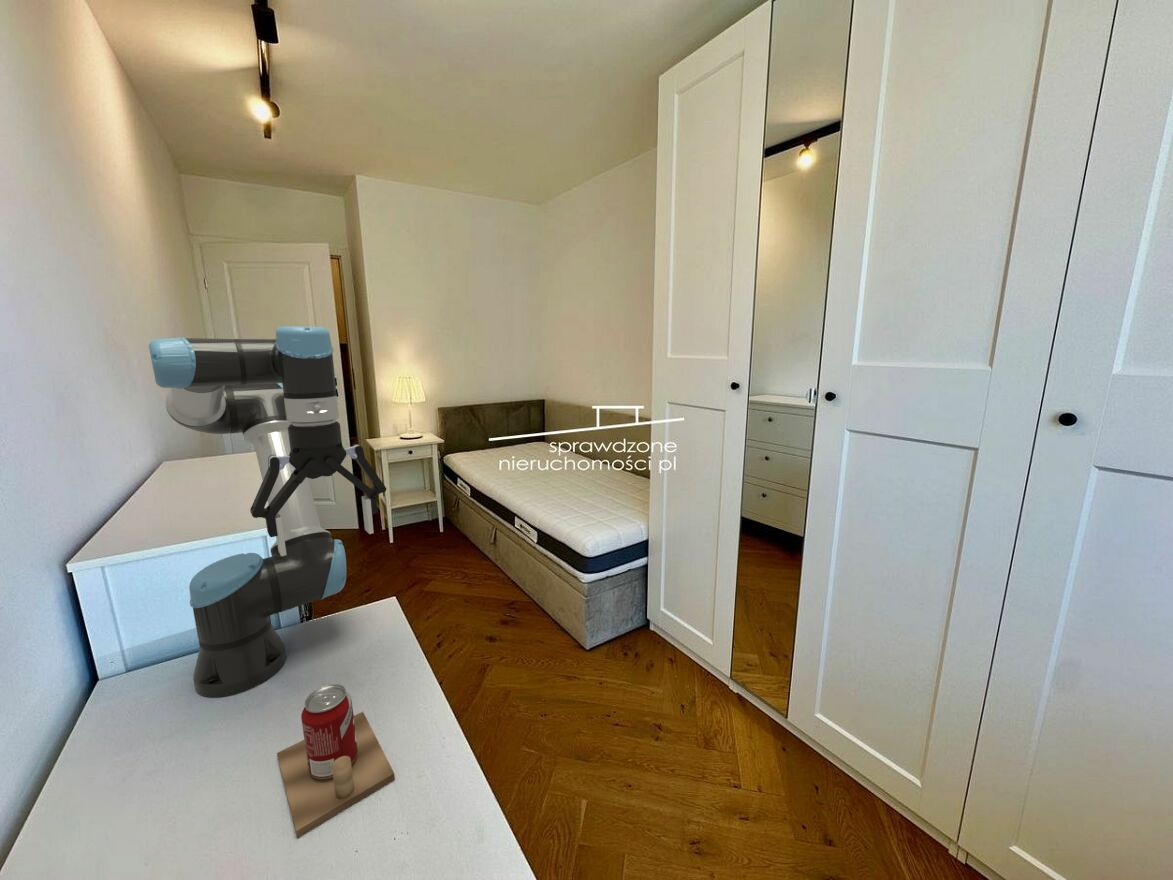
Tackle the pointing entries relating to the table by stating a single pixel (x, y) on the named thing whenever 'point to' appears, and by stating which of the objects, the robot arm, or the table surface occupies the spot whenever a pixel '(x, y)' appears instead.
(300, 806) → the pegboard
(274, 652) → the robot arm
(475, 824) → the table surface
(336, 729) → the soda can
